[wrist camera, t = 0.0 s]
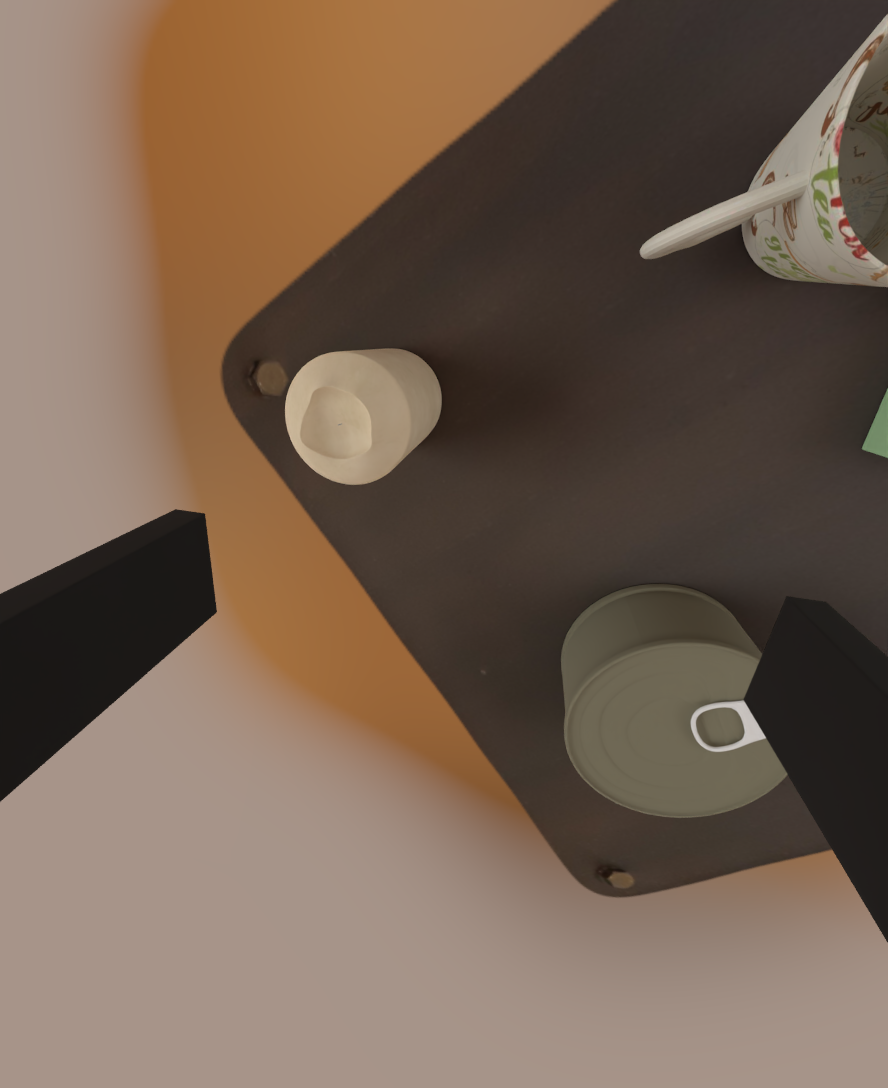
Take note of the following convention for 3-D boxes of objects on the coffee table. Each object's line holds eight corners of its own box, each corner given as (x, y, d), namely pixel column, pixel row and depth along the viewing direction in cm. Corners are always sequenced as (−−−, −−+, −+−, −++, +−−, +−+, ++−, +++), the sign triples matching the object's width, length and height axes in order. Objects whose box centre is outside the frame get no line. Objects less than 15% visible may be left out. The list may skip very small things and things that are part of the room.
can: (531, 614, 32) (531, 680, 26) (722, 553, 29) (776, 613, 22) (592, 747, 36) (606, 833, 30) (770, 707, 32) (828, 796, 26)
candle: (369, 456, 30) (300, 507, 21) (337, 365, 28) (245, 377, 19) (454, 432, 28) (420, 476, 19) (426, 334, 27) (374, 332, 18)
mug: (923, 268, 22) (1196, 219, 13) (637, 361, 26) (697, 373, 16) (922, 46, 20) (1264, -209, 10) (603, 182, 23) (652, 79, 14)
